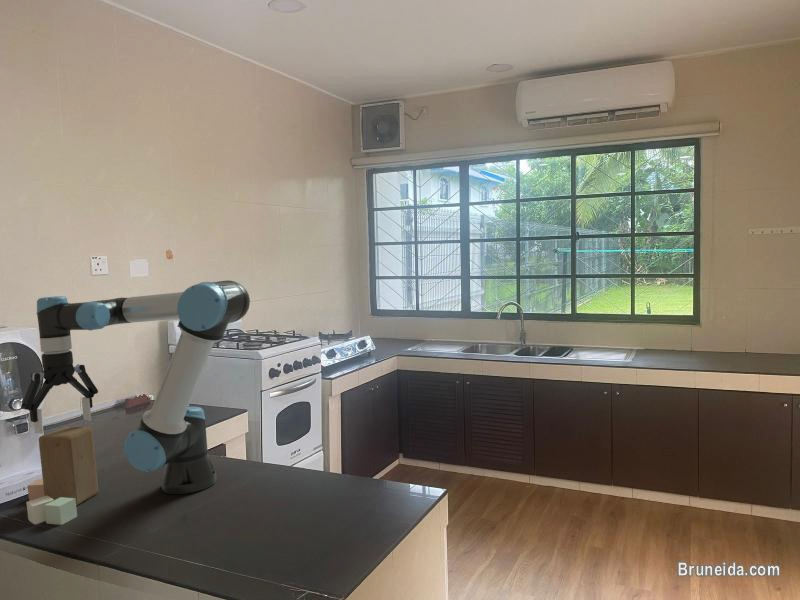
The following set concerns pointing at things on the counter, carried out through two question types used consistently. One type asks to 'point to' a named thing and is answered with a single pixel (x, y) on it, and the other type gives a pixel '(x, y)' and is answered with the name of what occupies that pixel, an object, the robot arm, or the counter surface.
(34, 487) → the cube tan
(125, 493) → the counter surface
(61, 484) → the wooden block
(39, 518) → the cube cream
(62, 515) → the cube sage
